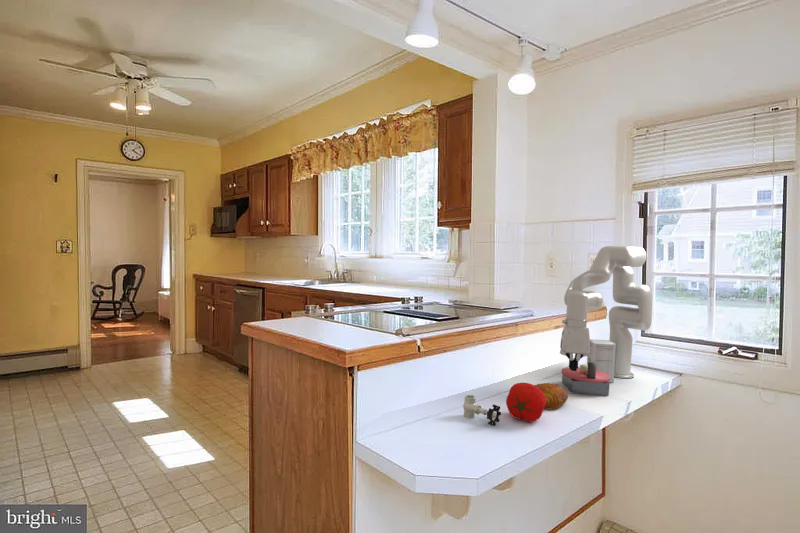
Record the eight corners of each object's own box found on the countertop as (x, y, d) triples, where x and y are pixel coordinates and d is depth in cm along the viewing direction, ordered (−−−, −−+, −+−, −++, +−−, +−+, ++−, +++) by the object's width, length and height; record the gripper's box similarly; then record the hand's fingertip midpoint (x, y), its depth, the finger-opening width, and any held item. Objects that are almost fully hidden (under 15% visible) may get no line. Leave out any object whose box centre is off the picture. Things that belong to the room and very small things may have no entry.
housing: (561, 382, 190) (562, 371, 190) (595, 385, 189) (596, 373, 189) (571, 393, 176) (572, 380, 176) (608, 395, 175) (609, 383, 175)
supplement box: (607, 377, 202) (610, 340, 202) (614, 383, 193) (616, 344, 193) (585, 375, 204) (587, 338, 203) (591, 381, 195) (593, 342, 194)
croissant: (571, 408, 165) (574, 387, 166) (556, 413, 153) (559, 390, 154) (534, 398, 174) (537, 377, 175) (517, 401, 162) (520, 379, 163)
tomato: (525, 420, 154) (512, 433, 143) (507, 385, 157) (492, 396, 146) (558, 407, 148) (547, 420, 137) (538, 371, 151) (526, 381, 140)
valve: (457, 417, 146) (488, 428, 137) (458, 396, 146) (489, 407, 137) (470, 412, 151) (500, 423, 142) (471, 393, 150) (502, 403, 142)
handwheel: (556, 368, 192) (557, 351, 192) (599, 371, 191) (600, 354, 190) (568, 380, 174) (569, 362, 174) (616, 384, 173) (618, 365, 172)
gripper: (559, 324, 172) (556, 371, 173) (599, 326, 171) (596, 374, 171) (553, 320, 179) (551, 366, 180) (592, 323, 178) (589, 369, 179)
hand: (573, 370), depth 176 cm, fingers closed
